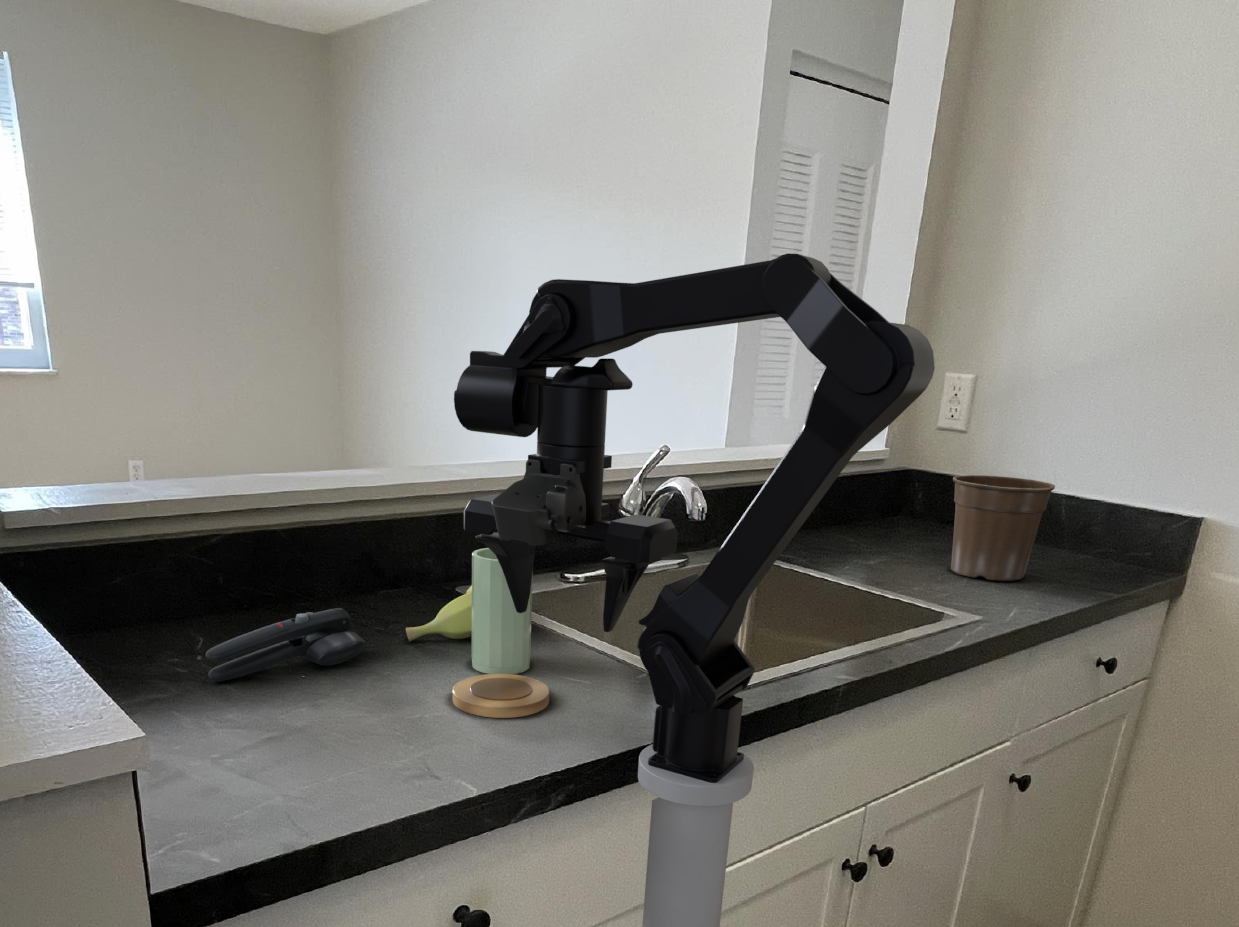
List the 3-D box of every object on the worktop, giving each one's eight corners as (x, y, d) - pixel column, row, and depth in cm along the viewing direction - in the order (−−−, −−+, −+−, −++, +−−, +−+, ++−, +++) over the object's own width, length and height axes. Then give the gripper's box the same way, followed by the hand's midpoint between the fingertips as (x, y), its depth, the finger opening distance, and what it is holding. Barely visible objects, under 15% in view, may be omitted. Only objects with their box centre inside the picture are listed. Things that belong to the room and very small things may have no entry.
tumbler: (524, 677, 109) (527, 562, 104) (466, 672, 109) (466, 558, 104) (534, 658, 115) (537, 549, 110) (478, 654, 115) (479, 545, 111)
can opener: (339, 644, 116) (337, 598, 114) (372, 659, 112) (370, 612, 110) (192, 674, 104) (187, 623, 102) (222, 692, 100) (217, 639, 98)
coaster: (567, 697, 103) (567, 685, 103) (512, 726, 95) (513, 713, 95) (490, 677, 108) (490, 666, 107) (432, 703, 100) (432, 691, 99)
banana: (540, 565, 127) (429, 612, 113) (550, 605, 129) (442, 656, 115) (469, 573, 136) (358, 617, 122) (480, 610, 138) (371, 658, 124)
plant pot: (917, 565, 174) (933, 474, 169) (984, 561, 181) (1001, 473, 175) (986, 588, 161) (1005, 489, 155) (1055, 582, 167) (1076, 487, 162)
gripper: (422, 438, 80) (424, 622, 85) (621, 463, 71) (609, 665, 77) (501, 430, 89) (499, 596, 94) (687, 452, 80) (672, 633, 86)
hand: (563, 621), depth 87 cm, fingers open, 9 cm apart
